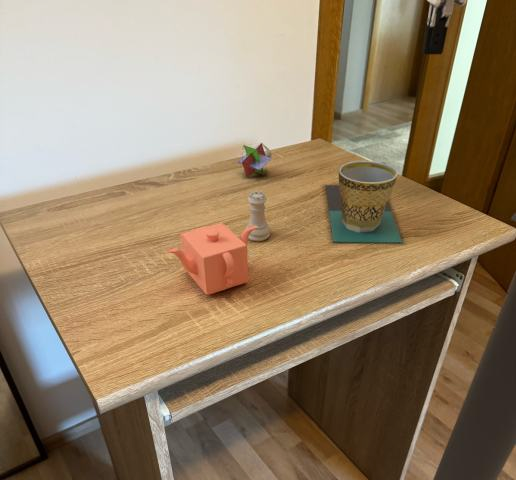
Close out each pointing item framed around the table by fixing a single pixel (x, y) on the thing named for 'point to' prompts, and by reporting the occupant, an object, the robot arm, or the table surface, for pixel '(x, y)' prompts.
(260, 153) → the geometric puzzle
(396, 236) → the plate
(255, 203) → the rook chess piece
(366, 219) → the ceramic cup
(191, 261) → the teapot
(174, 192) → the table surface
